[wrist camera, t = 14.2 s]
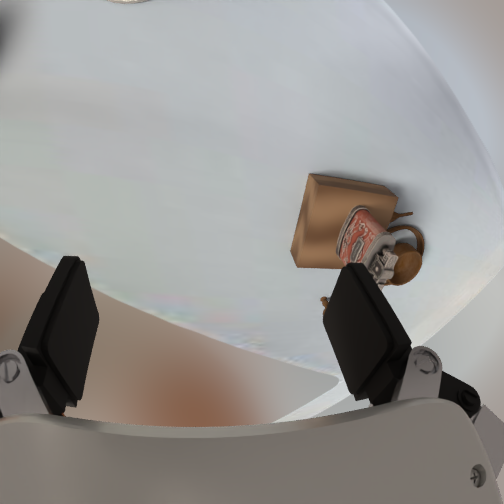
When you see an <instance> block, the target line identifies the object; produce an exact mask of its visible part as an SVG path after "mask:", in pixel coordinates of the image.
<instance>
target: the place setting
mask: <svg viewBox="0 0 504 504" xmlns="http://www.w3.org/2000/svg"><path fill="white" fill-rule="evenodd" d="M412 214H413V212H408V213H404V214H398V213H396V212H393V215H392V218H391V220H390V222H393V221H394V220H396V219H397V218H399V217H403V216H408V215H412ZM401 229H408V230H410V231H412V232H413V233H414V234H415V236H416V239H417V250H416V249H415V248H414V247H413V246H411V245H410V244H408V243H398V244H395V246H394V250H393V252H394V253H395V254H396V255H397V257H398V259H397V261H396V263H395V265H394V275H393V277H392V278H391V279H387V280H386V282H385V284H384V286H386V285H395V286H399V285H403V284H406V283H408V282H409V281H411V280H412V279H413V278H414V277H415V276H416V275H417V273H418V272H419V270H420V268H421V265H422V256H423V252H424V239H423V236H422V235H421V233H420V232H419V231H418V230H416V229H415V228H413V227H411V226H405V225H402V226H396V227H393V228H390V229H388V230H387V232H389V233H390V234H391V233H393V232H395V231H398V230H401ZM326 299H327V298H326V297H322V298H321V299H320V300H321V301H322V304H323V306H324V307H325V309H324V311H323V315H324V313H325V310H326V308H327V305H328V301H327V300H326Z"/></svg>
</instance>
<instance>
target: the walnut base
mask: <svg viewBox="0 0 504 504" xmlns="http://www.w3.org/2000/svg"><path fill="white" fill-rule="evenodd" d="M397 201H398V197H397V196H396V195H395V194H394V193H392V192H391V191H390V190H389V189H387V188H386V187H385V186H381V185H376V184H371V183H365V182H360V181H354V180H348V179H342V178H336V177H329V176H323V175H316V174H309V176H308V180H307V184H306V189H305V193H304V197H303V201H302V206H301V210H300V214H299V218H298V222H297V226H296V230H295V234H294V238H293V242H292V246H291V250H290V252H291V254H292V256H293V259H294V261H295V264H296V266H297V268H326V269H342V268H343V267H344V266H345V265H344V263H343V261H342V260H341V259H339V257H338V256H337V254H336V246H337V241H338V238H339V234H340V231H341V229H342V227H343V224H344V222H345V220H346V218H347V216H348V215H349V213H350V211H351V210H352V208H353V207H355V206H357V205H363V206H365V207H366V208H367V209H368V210H369V211H370V214H371V215H372V216H373V217H374V218H375V219H376V221H377V222H378V223H379V224H380V225H381V226H382V227H383V228H384V229H385V230H386V231H387V228H388V226H389V223H390V220H391V218H392V215H393V212H394V209H395V206H396V204H397Z"/></svg>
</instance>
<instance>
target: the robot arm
mask: <svg viewBox="0 0 504 504" xmlns="http://www.w3.org/2000/svg"><path fill="white" fill-rule="evenodd" d="M107 1H111V2H114V3H121V4H132V3H138V2H144V1H147V0H107ZM98 324H99V314H98V311H97V307H96V304H95V301H94V297H93V293H92V290H91V286H90V282H89V278H88V274H87V270H86V266H85V263H84V261H81V260H80V258H79V257H78V256H63V257H62V259H61V261H60V263H59V264H58V266H57V268H56V270H55V272H54V274H53V276H52V278H51V280H50V282H49V284H48V286H47V288H46V290H45V292H44V293H43V294H42V295H41V297H40V299H39V302H38V303H37V305H36V308H35V310H34V312H33V314H32V316H31V319H30V321H29V324H28V326H27V328H26V330H25V333H24V336H23V338H22V341H21V343H20V345H19V348H18V351H15V350H6V351H2V352H1V353H0V504H503V502H502V498H501V494H500V491H499V488H498V485H497V481H496V478H497V476H498V474H499V472H500V470H501V468H502V465H503V463H504V423H503V422H502V421H501V420H500V419H499V418H498V417H497V416H496V415H495V414H494V413H493V412H492V411H490V410H489V409H488V408H487V407H486V406H485V405H484V404H483V405H482V406H480V403H481V402H480V397H479V395H478V393H477V391H476V390H475V389H474V388H473V387H471V386H470V385H468V384H466V383H464V382H462V381H461V380H458V379H457V378H455V377H453V376H451V375H449V374H447V373H445V372H443V371H442V363H441V360H440V358H439V356H438V355H437V354H436V353H435V352H434V351H433V350H431V349H430V348H427V347H424V346H417V347H414V348H413V349H412V348H411V346H410V345H411V343H412V342H411V340H410V338H409V337H408V335H407V333H406V331H405V330H404V328H403V326H402V324H401V323H400V321H399V319H398V318H397V316H396V314H395V313H394V311H393V309H392V308H391V306H390V304H389V303H388V301H387V299H386V298H385V296H384V295H383V293H382V291H381V290H380V288H379V287H378V285H377V283H376V282H375V280H374V279H373V277H372V276H371V274H370V273H369V271H368V269H367V268H366V266H365V265H364V264H363V263H347V264H346V266H344V267H343V268H342V269H341V272H340V275H339V277H338V280H337V283H336V285H335V288H334V290H333V293H332V295H331V298H330V301H329V303H328V305H327V308H326V310H325V313H324V315H323V324H324V327H325V329H326V332H327V334H328V337H329V340H330V342H331V345H332V347H333V350H334V353H335V355H336V358H337V360H338V363H339V366H340V368H341V371H342V374H343V376H344V379H345V382H346V384H347V387H348V390H349V392H350V393H351V394H354V397H355V400H356V401H358V400H363V399H367V398H369V401H370V405H369V407H368V408H364V409H359V410H354V411H349V412H345V413H340V414H334V415H328V416H323V417H316V418H310V419H303V420H296V421H288V422H279V423H270V424H260V425H246V426H228V427H160V426H143V425H130V424H119V423H110V422H101V421H93V420H85V419H79V418H72V417H66V416H65V415H64V412H65V407H66V406H70V407H76V406H77V400H81V399H82V395H83V390H84V384H85V380H86V375H87V370H88V365H89V361H90V356H91V352H92V348H93V344H94V340H95V336H96V332H97V328H98Z"/></svg>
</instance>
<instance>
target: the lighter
mask: <svg viewBox="0 0 504 504" xmlns="http://www.w3.org/2000/svg"><path fill="white" fill-rule="evenodd" d="M395 242H396V240H395V238H394V237H393V236H392V235H391V234H390V233H389V232H387V231H386V230H385V229H384V228H383V227H382V226H381V225H380V224H379V223H378V222H377V221H376V219H375V218H374V217H373V216H372V215H371V214H370V211H369V210H368V209H367V208H366V207H365V206H363V205H357V206H355V207H353V208H352V210H351V211H350V213H349V215H348V216H347V218H346V220H345V222H344V224H343V227H342V229H341V231H340V234H339V238H338V241H337V246H336V254H337V256H338V257H339V259H341V260H342V261H343V263H344V265H345V266H346V264H347V263H363V264H364V265H365V266H366V268H367V269H368V271H369V273H370V274H371V276H372V277H373V279H374V280H375V282H376V283H377V285H378V287H379V288H380V290H382V289H383V287H384V284H385V282H386V280H387V279H391V278H392V277H393V275H394V265H395V263H396V261H397V259H398V257H397V255H396V254H395V253H394V252H393V250H394V246H395Z"/></svg>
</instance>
